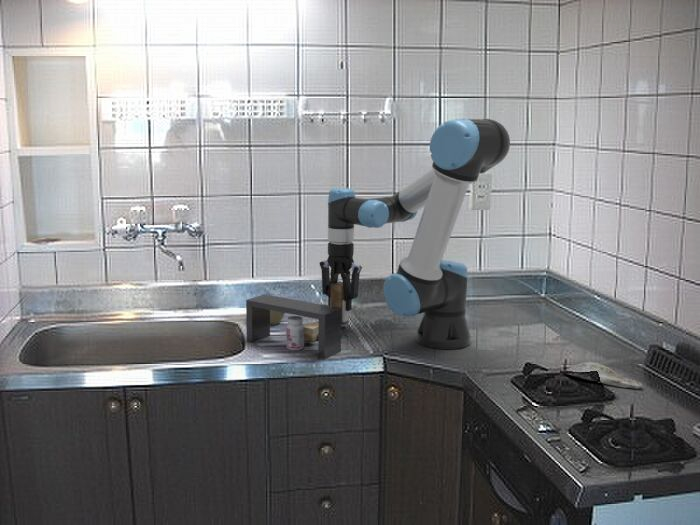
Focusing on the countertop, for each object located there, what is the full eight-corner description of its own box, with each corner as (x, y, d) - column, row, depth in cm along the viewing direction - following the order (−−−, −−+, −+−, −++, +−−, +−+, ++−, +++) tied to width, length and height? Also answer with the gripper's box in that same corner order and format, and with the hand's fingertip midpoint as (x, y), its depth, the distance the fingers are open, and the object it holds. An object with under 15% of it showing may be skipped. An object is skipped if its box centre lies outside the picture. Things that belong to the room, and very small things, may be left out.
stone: (635, 404, 178) (647, 389, 186) (638, 390, 177) (650, 376, 185) (556, 378, 189) (570, 365, 196) (558, 365, 187) (572, 353, 195)
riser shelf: (341, 351, 204) (341, 308, 202) (324, 359, 197) (325, 314, 195) (264, 334, 217) (264, 294, 215) (246, 341, 211) (246, 299, 208)
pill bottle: (282, 348, 206) (282, 318, 204) (292, 343, 210) (292, 314, 208) (297, 351, 203) (297, 321, 202) (306, 346, 207) (307, 317, 206)
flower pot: (286, 327, 225) (286, 304, 223) (252, 326, 225) (252, 303, 223) (289, 318, 234) (289, 296, 233) (257, 317, 235) (257, 295, 233)
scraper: (353, 323, 225) (354, 284, 223) (312, 341, 207) (312, 298, 205) (333, 319, 229) (334, 280, 226) (291, 336, 211) (291, 295, 209)
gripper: (372, 243, 219) (370, 321, 224) (324, 237, 227) (323, 312, 232) (358, 247, 213) (356, 327, 217) (309, 240, 221) (309, 318, 226)
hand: (339, 319), depth 225 cm, fingers closed on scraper, 3 cm apart
